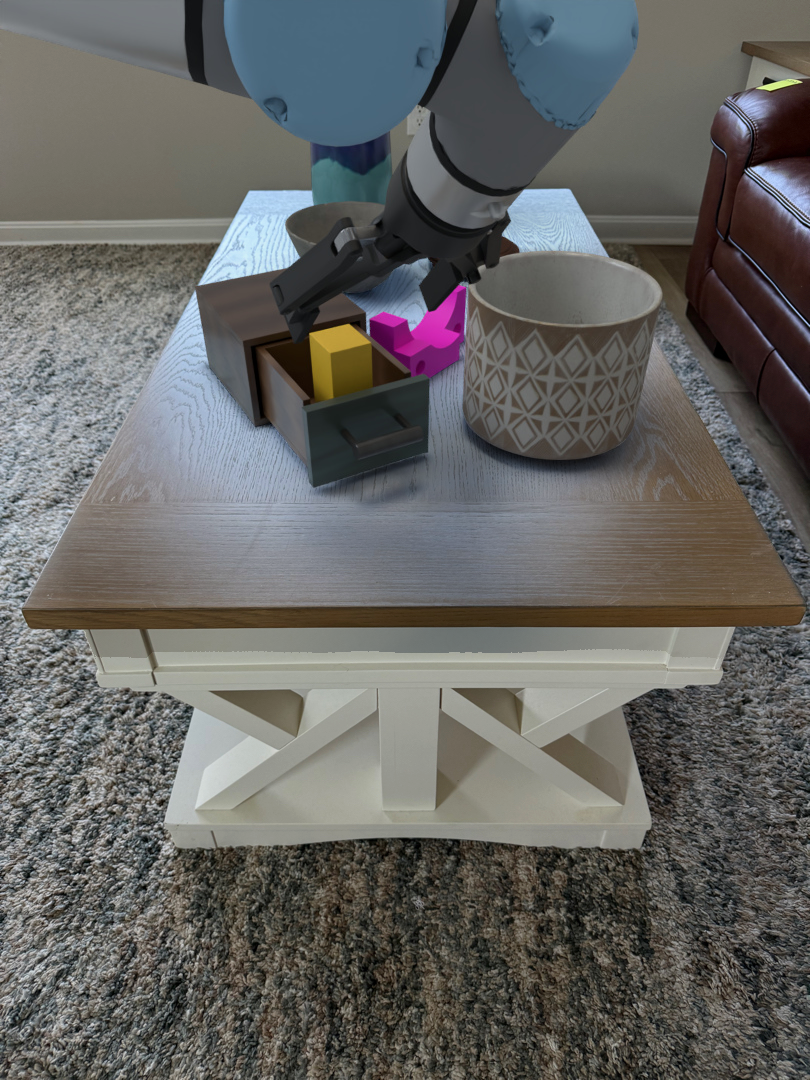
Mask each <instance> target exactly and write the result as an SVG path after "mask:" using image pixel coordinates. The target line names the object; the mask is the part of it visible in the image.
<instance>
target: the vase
mask: <svg viewBox="0 0 810 1080" xmlns="http://www.w3.org/2000/svg"><path fill="white" fill-rule="evenodd" d="M309 154H310V182H311V197H312V203H313V206H314V205H319V204H327V203H331V202H346V201H356V202H372V203H378V204H383V205H385V201H386V194H387V188H388V185H389V181H390V179H391V177H392V175H393V159H392V157H393V156H392V143H391V130H390V131H389V132H387V133H385V134H383V135H382V136H380V137H378V138H376V139H373V140H370V141H368V142H365V143H362V144H357V145H352V146H338V147H335V146H326V145H320V144H316V143H312V142H309Z"/></svg>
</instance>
